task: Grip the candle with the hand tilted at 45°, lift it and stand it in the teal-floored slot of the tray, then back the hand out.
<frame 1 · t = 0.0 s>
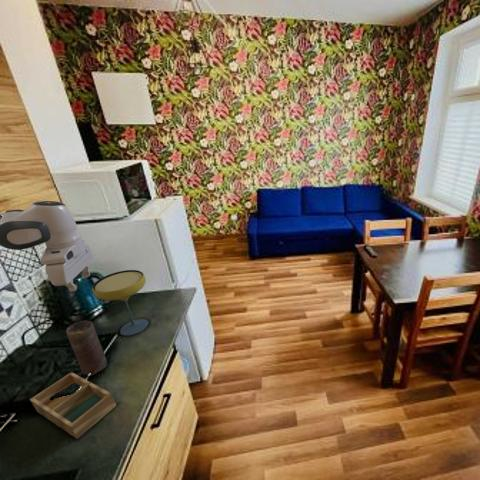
hand: (80, 283, 95), 33 cm above the kitchen counter, tool pointing down, fingers open, 8 cm apart
cocktail glass: (134, 327, 121), on the kitchen counter
tray: (77, 408, 86), on the kitchen counter
candle: (96, 369, 100), on the kitchen counter
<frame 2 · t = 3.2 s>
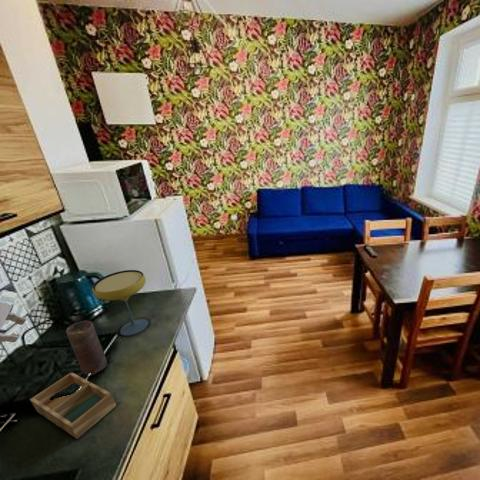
hand: (21, 329, 83), 25 cm above the kitchen counter, tool tilted 45°, fingers open, 8 cm apart
nothing on the kitchen counter moved.
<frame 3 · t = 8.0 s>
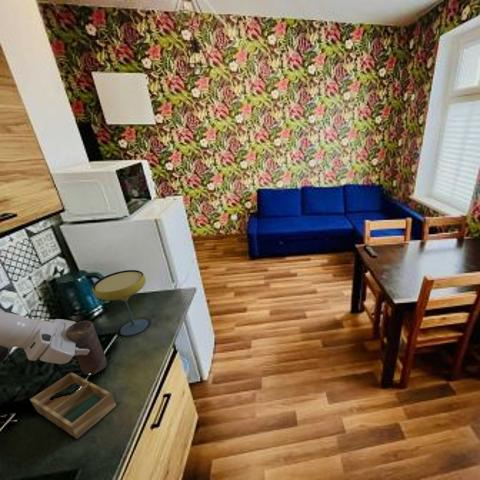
hand: (88, 344, 96), 12 cm above the kitchen counter, tool tilted 45°, fingers closed on candle, 7 cm apart
candle: (96, 369, 100), on the kitchen counter, touching gripper
everything else where it was.
when the fingers open (12 cm above the kitchen counter, at t = 20.3 s): candle stays where it is, resting on tray.
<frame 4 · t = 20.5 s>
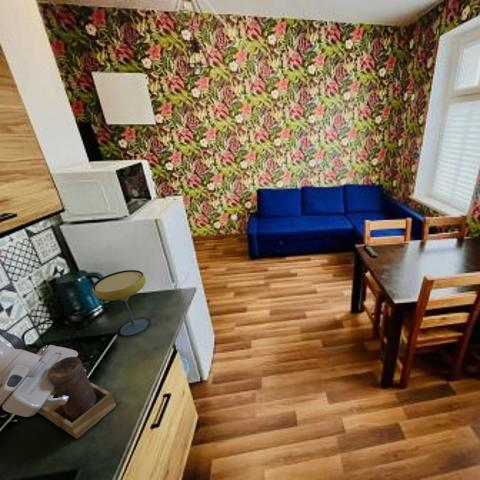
hand: (76, 386, 80), 12 cm above the kitchen counter, tool tilted 45°, fingers open, 8 cm apart
candle: (85, 413, 84), point 1 cm above the kitchen counter, touching tray
everything else where it was.
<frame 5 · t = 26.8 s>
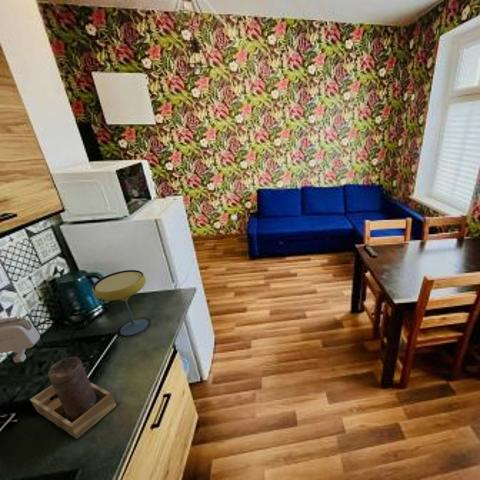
nothing on the kitchen counter moved.
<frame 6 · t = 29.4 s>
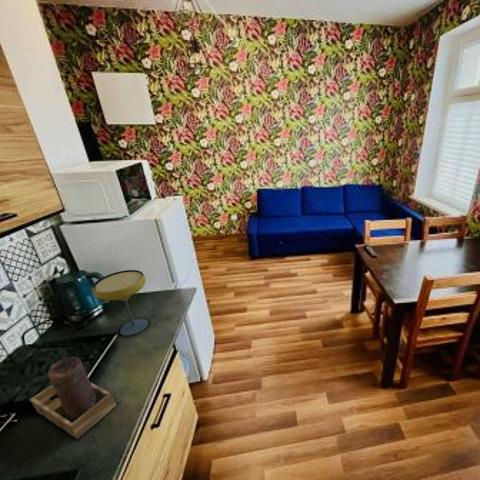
nothing on the kitchen counter moved.
at the end: candle inside the target area in the tray (0.1 cm from its centre), point 0.6 cm above the tray's base; candle tilted 0°; the gripper is holding nothing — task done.
